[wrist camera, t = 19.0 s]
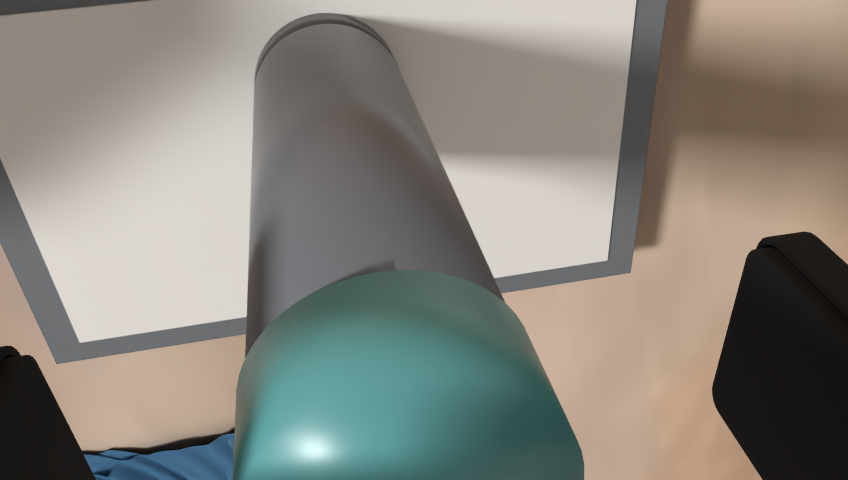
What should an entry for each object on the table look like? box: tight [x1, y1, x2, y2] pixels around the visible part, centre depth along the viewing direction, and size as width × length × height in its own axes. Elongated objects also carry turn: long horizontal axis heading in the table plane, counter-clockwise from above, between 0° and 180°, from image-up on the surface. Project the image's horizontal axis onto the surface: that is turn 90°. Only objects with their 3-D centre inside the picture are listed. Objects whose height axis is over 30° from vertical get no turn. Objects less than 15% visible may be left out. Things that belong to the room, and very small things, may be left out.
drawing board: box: [0, 0, 667, 364], centre depth 22 cm, size 20×12×2 cm, turn 93°
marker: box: [232, 13, 584, 480], centre depth 14 cm, size 4×4×14 cm
